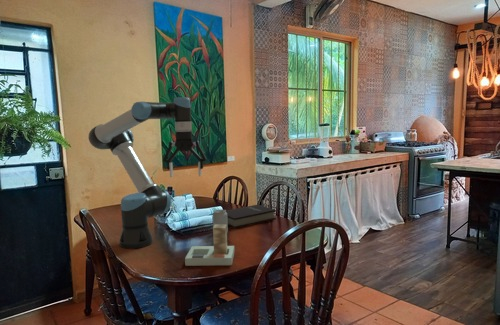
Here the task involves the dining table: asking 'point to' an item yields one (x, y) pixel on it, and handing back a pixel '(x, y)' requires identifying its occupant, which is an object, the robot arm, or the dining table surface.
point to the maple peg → (220, 239)
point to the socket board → (208, 256)
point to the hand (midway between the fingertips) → (185, 176)
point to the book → (249, 215)
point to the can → (220, 217)
